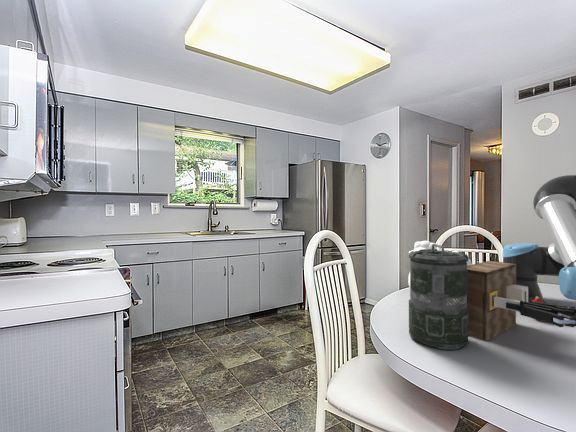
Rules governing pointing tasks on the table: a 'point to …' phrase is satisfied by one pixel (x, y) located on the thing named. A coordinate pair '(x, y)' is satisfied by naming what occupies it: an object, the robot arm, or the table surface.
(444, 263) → the canister
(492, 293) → the button two
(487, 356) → the table surface
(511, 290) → the button one
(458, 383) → the table surface
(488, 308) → the console
